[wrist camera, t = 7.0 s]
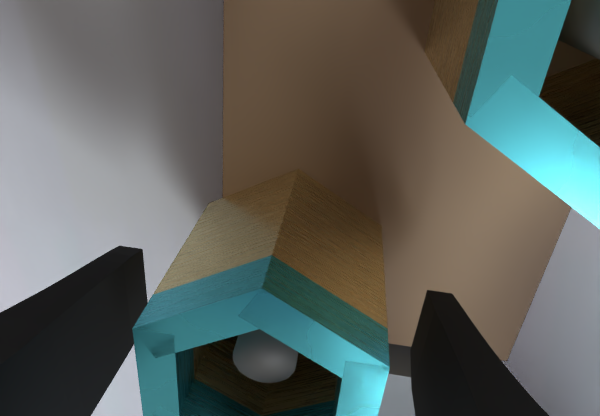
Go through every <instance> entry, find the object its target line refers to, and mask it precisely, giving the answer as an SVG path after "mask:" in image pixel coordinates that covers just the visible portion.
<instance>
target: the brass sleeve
mask: <svg viewBox="0 0 600 416" xmlns="http://www.w3.org/2000/svg"><path fill="white" fill-rule="evenodd" d="M258 329H260V330H262V331H264V332H265V333H267V334H269V335H271V336H272V337H274V338H276V339H277V340H279V341H281V342H282V343H284V344H286V345H287V346H289V347H291V348H292V349H294V350H296V351H297V352H298V357H297V364H296V368H295V371H294V372H293V374H292V375H291V376H290V377H289V378H287V379H285V380H283V381H280V382H276V383H263V382H258V381H255V380H252V379H250V378H248V377H247V376H245V375H244V374H242V373H241V372H240V371H239V370H238V369H237V367H236V366H235V364H234V361H233V350H234V347H235V344H236V341H237V338H238V335H240V334H244V333H247V332H251V331H254V330H258ZM132 330H133V338H134V346H135V354H136V362H137V370H138V378H139V386H140V394H141V402H142V410H143V416H378V413H379V409H380V405H381V401H382V397H383V393H384V389H385V385H386V381H387V376H388V372H389V368H390V360H389V343H388V326H387V309H386V291H385V274H384V257H383V240H382V225H380V224H378V223H377V222H376V221H374V220H373V219H371V218H370V217H368V216H367V215H365V214H364V213H362V212H361V211H360V210H358V209H357V208H355V207H354V206H352V205H351V204H349V203H348V202H346V201H345V200H344V199H342V198H341V197H339V196H338V195H336V194H335V193H333V192H332V191H330V190H329V189H327V188H326V187H325V186H323V185H322V184H320V183H319V182H317V181H316V180H314V179H313V178H311V177H310V176H309V175H307V174H306V173H304V172H303V171H301V170H300V169H296V170H293V171H290V172H288V173H285V174H283V175H280V176H278V177H275V178H272V179H270V180H267V181H265V182H262V183H260V184H257V185H254V186H252V187H249V188H247V189H244V190H242V191H239V192H236V193H234V194H231V195H229V196H226V197H224V198H221V199H218V200H216V201H213V202H211V203H209V204H208V206H207V207H206V209H205V211H204V212H203V214H202V215H201V217H200V219H199V220H198V222H197V224H196V225H195V227H194V229H193V230H192V232H191V233H190V235H189V237H188V238H187V240H186V242H185V243H184V245H183V246H182V248H181V250H180V251H179V253H178V255H177V256H176V258H175V260H174V261H173V263H172V264H171V266H170V268H169V269H168V271H167V273H166V274H165V276H164V278H163V279H162V281H161V282H160V284H159V286H158V287H157V289H156V291H155V292H154V294H153V296H152V297H151V299H150V300H149V302H148V304H147V305H146V307H145V309H144V310H143V312H142V313H141V315H140V317H139V318H138V320H137V322H136V323H135V325H134V327H133V328H132Z"/></svg>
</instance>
